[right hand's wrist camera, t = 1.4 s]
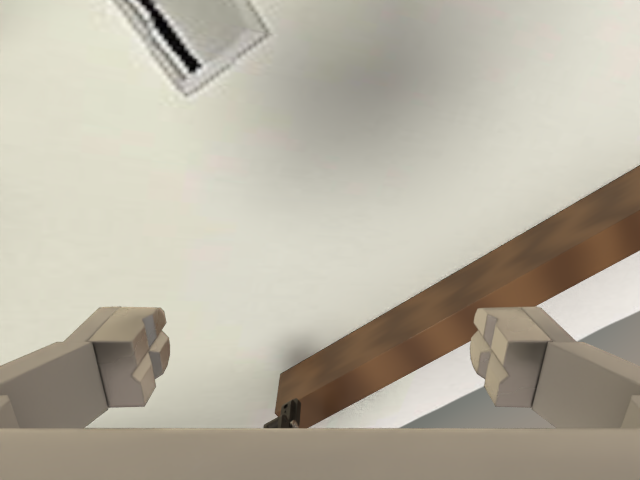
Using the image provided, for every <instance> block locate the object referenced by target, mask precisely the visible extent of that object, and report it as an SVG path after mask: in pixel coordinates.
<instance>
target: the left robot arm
mask: <svg viewBox="0 0 640 480" xmlns="http://www.w3.org/2000/svg"><path fill="white" fill-rule="evenodd" d="M300 412H301V402H300V401H299V400H298V399H297V398H295V399H292V400H290V401H289V402H287V403H285V404H283V405H282V407H281V414H280V416H279V417H277V418H276V419H274V420H272V421H270V422H268V423H266V424H265V425H264V428H299V425H300Z"/></svg>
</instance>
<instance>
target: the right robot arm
mask: <svg viewBox="0 0 640 480" xmlns="http://www.w3.org/2000/svg"><path fill="white" fill-rule="evenodd" d="M165 324H166V318H165V313H164V311H163V310H162V309H161V308H155V307H100V308H98V309H97V310H96V311H95V312H94V313H93V314H92V315H91V316H90V317H89V318H88V319H87V320H86V321H85V322H84V323H83V324H82V325H80V326H79V327H78V328H77V329H76V330H75V331H74V332H73V333H72V334H71V335H70V336H69V337H68V338H67V339H66V340H65V341H64V342H56V343H53V344H51V345H48V346H46V347H44V348H41V349H39V350H37V351H34V352H32V353H30V354H27V355H25V356H23V357H20V358H18V359H15V360H13V361H11V362H8V363H6V364H4V365H1V366H0V480H640V366H638V365H636V364H634V363H631V362H629V361H627V360H624V359H622V358H620V357H617V356H615V355H613V354H610V353H608V352H606V351H603V350H601V349H598V348H596V347H594V346H592V345H589V344H587V343H584V342H576V341H575V340H574V339H573V338H572V337H571V336H570V335H569V334H568V333H567V332H566V331H565V330H564V329H563V328H562V327H561V326H560V325H559V324H557V323H556V322H555V321H554V320H553V319H552V318H551V317H550V316H549V315H548V314H547V313H546V312H545V311H544V310H543V309H542V308H539V307H536V306H534V307H499V308H478V309H477V311H476V313H475V317H474V324H475V326H476V327H477V329H478V331H477V332H476V333H475V334H474V335H473V336H472V337H471V343H470V356H471V361H472V365H473V367H474V369H475V371H476V373H477V374H478V375H479V376H481V377H482V378H484V379H485V384H484V387H485V389H486V391H487V393H488V394H489V396H490V398H491V400H492V401H493V403H494V405H495V406H496V407H530V408H532V410H533V411H535V412H536V413H537V414H539V415H540V416H541V417H543V418H544V419H545V420H546V421H548V422H549V423H550V424H552V425H553V426H554V427H556V428H85V427H86V426H87V425H88V424H90V423H91V422H92V421H94V420H95V419H96V418H98V417H99V416H100V415H102V414H103V413H104V412H105V411H107V410H108V408H110V407H145V405H146V403H147V401H148V400H149V398H150V396H151V394H152V393H153V391H154V389H155V387H156V384H155V379H156V378H158V377H159V376H161V375H162V374H163V373H164V371H165V369H166V367H167V365H168V361H169V356H170V342H169V337H168V336H167V335H166V334H165V333H164V332H163V331H162V329H163V327H164V326H165Z"/></svg>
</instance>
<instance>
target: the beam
mask: <svg viewBox="0 0 640 480" xmlns="http://www.w3.org/2000/svg"><path fill="white" fill-rule="evenodd" d="M639 250H640V166H638V167H637V168H635V169H633V170H631V171H630V172H628V173H626V174H625V175H623V176H621V177H619V178H618V179H616V180H614V181H612V182H611V183H609V184H607V185H606V186H604V187H602V188H600V189H599V190H597V191H595V192H593V193H592V194H590V195H588V196H587V197H585V198H583V199H581V200H580V201H578V202H576V203H575V204H573V205H571V206H569V207H568V208H566V209H564V210H562V211H561V212H559V213H557V214H556V215H554V216H552V217H550V218H549V219H547V220H545V221H543V222H542V223H540V224H538V225H537V226H535V227H533V228H531V229H530V230H528V231H526V232H525V233H523V234H521V235H519V236H518V237H516V238H514V239H512V240H511V241H509V242H507V243H506V244H504V245H502V246H500V247H499V248H497V249H495V250H493V251H492V252H490V253H488V254H487V255H485V256H483V257H481V258H480V259H478V260H476V261H475V262H473V263H471V264H469V265H468V266H466V267H464V268H462V269H461V270H459V271H457V272H456V273H454V274H452V275H450V276H449V277H447V278H445V279H443V280H442V281H440V282H438V283H437V284H435V285H433V286H431V287H430V288H428V289H426V290H425V291H423V292H421V293H419V294H418V295H416V296H414V297H412V298H411V299H409V300H407V301H406V302H404V303H402V304H400V305H399V306H397V307H395V308H393V309H392V310H390V311H388V312H387V313H385V314H383V315H381V316H380V317H378V318H376V319H375V320H373V321H371V322H369V323H368V324H366V325H364V326H362V327H361V328H359V329H357V330H356V331H354V332H352V333H350V334H349V335H347V336H345V337H343V338H342V339H340V340H338V341H337V342H335V343H333V344H331V345H330V346H328V347H326V348H325V349H323V350H321V351H319V352H318V353H316V354H314V355H312V356H311V357H309V358H307V359H306V360H304V361H302V362H300V363H299V364H297V365H295V366H293V367H292V368H290V369H288V370H287V371H285V372H283V373H281V374H280V380H279V387H278V394H277V401H276V408H275V414H276V415H277V416H278V417H279V416H280V414H281V407H282V405H283V404H285V403H287V402H289V401H290V400H292V399H295V398H297V399H298V400H299V401H300V402H301V412H300V425H299V428H309V427H310V426H312V425H314V424H316V423H318V422H320V421H322V420H324V419H325V418H327V417H329V416H331V415H333V414H335V413H337V412H339V411H340V410H342V409H344V408H346V407H348V406H350V405H352V404H353V403H355V402H357V401H359V400H361V399H363V398H365V397H367V396H368V395H370V394H372V393H374V392H376V391H378V390H380V389H382V388H383V387H385V386H387V385H389V384H391V383H393V382H395V381H396V380H398V379H400V378H402V377H404V376H406V375H408V374H410V373H411V372H413V371H415V370H417V369H419V368H421V367H423V366H424V365H426V364H428V363H430V362H432V361H434V360H436V359H438V358H439V357H441V356H443V355H445V354H447V353H449V352H451V351H453V350H454V349H456V348H458V347H460V346H462V345H464V344H466V343H467V342H469V341H471V337H472V336H473V335H474V334H475V333H476V332H477V331H478V329H477V327H476V326H475V324H474V317H475V313H476V311H477V309H478V308H499V307H534V306H537V305H539V304H540V303H542V302H544V301H546V300H548V299H550V298H552V297H553V296H555V295H557V294H559V293H561V292H563V291H565V290H567V289H568V288H570V287H572V286H574V285H576V284H578V283H580V282H582V281H583V280H585V279H587V278H589V277H591V276H593V275H595V274H596V273H598V272H600V271H602V270H604V269H606V268H608V267H610V266H611V265H613V264H615V263H617V262H619V261H621V260H623V259H625V258H626V257H628V256H630V255H632V254H634V253H636V252H638V251H639Z"/></svg>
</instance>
